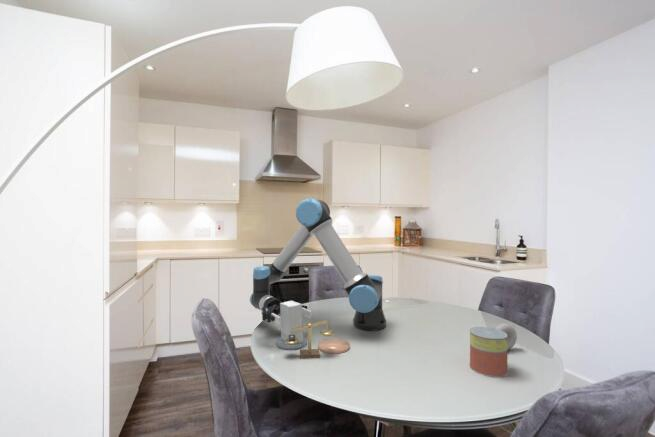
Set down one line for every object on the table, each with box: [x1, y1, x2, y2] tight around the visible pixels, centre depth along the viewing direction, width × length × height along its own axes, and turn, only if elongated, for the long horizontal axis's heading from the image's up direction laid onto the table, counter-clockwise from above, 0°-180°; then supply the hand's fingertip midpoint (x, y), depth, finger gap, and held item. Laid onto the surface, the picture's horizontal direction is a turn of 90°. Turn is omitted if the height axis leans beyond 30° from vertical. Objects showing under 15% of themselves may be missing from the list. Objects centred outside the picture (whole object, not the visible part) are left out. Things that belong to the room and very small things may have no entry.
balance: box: [285, 319, 335, 360], centre depth 120 cm, size 18×5×12 cm, turn 96°
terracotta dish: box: [317, 337, 350, 355], centre depth 127 cm, size 12×12×1 cm
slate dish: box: [275, 336, 308, 351], centre depth 130 cm, size 12×12×1 cm
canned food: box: [469, 326, 509, 378], centre depth 110 cm, size 11×11×12 cm
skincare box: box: [279, 300, 304, 343], centre depth 130 cm, size 8×6×15 cm
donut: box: [494, 322, 518, 351], centre depth 125 cm, size 10×4×10 cm, turn 105°
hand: (295, 317), depth 128 cm, fingers open, 13 cm apart
